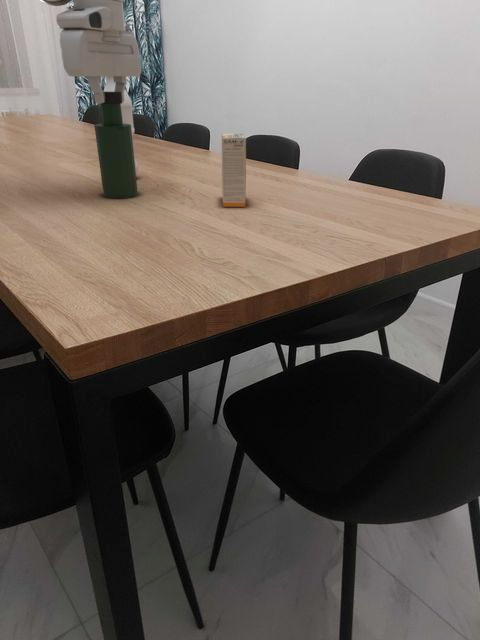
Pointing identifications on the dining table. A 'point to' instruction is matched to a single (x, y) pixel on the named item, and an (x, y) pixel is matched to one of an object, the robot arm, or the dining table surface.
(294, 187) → the dining table surface
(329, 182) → the dining table surface
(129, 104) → the water bottle
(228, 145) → the supplement box
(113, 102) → the stopper
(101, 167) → the glass bottle
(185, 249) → the dining table surface
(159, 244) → the dining table surface
